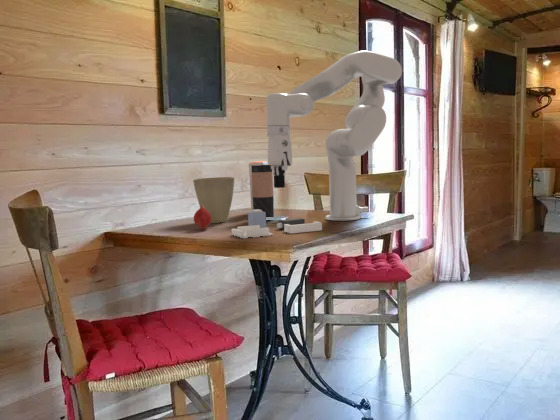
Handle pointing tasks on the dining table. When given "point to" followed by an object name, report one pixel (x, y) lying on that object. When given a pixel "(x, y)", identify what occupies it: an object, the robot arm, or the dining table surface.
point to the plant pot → (215, 196)
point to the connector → (257, 218)
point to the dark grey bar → (290, 222)
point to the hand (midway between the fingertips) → (279, 187)
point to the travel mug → (263, 189)
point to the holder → (251, 231)
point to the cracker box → (251, 176)
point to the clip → (303, 227)
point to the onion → (202, 218)
